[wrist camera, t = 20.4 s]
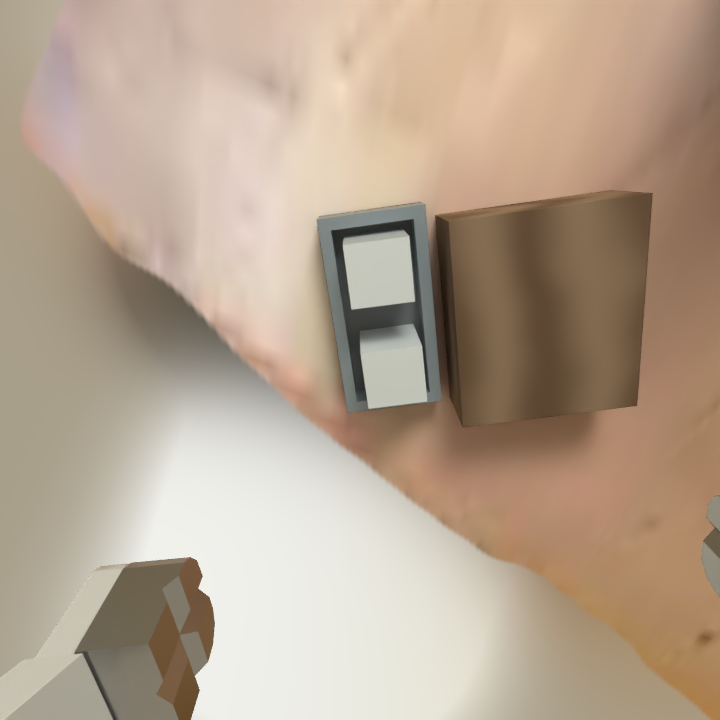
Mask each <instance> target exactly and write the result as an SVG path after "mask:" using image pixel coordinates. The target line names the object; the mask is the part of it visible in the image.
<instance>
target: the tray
mask: <svg viewBox="0 0 720 720" xmlns="http://www.w3.org/2000/svg"><path fill="white" fill-rule="evenodd" d="M317 225H318V231H319V237H320V243H321V249H322V256H323V262H324V268H325V274H326V280H327V287H328V293H329V299H330V305H331V311H332V318H333V324H334V330H335V336H336V342H337V349H338V355H339V361H340V367H341V373H342V380H343V386H344V392H345V398H346V404H347V411H348V413H351V412H359V411H367V410H375V409H382V408H390V407H398V406H406V405H414V404H422V403H430V402H438V401H442V399H441V387H440V375H439V363H438V351H437V340H436V328H435V316H434V304H433V292H432V280H431V268H430V257H429V245H428V233H427V221H426V209H425V204H423V203H421V202H417V203H410V204H403V205H396V206H389V207H382V208H375V209H368V210H361V211H354V212H347V213H340V214H333V215H326V216H319V217H318V219H317ZM395 228H402V229H403V230H404V231H405V232H406V233H407V234H408V235H409V238H410V250H411V261H412V272H413V283H414V294H415V302H408V303H400V304H392V305H384V306H376V307H368V308H360V309H351V302H350V295H349V288H348V280H347V273H346V266H345V259H344V251H343V240H344V235H350V234H358V233H365V232H373V231H380V230H388V229H395ZM407 324H414V327H415V329H416V332H417V334H418V337H419V340H420V342H421V345H422V351H423V361H424V372H425V382H426V392H427V402H420V403H412V404H404V405H396V406H388V407H380V408H372V409H368V402H367V395H366V388H365V382H364V375H363V368H362V361H361V353H360V331H362V330H370V329H377V328H385V327H392V326H400V325H407Z"/></svg>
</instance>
